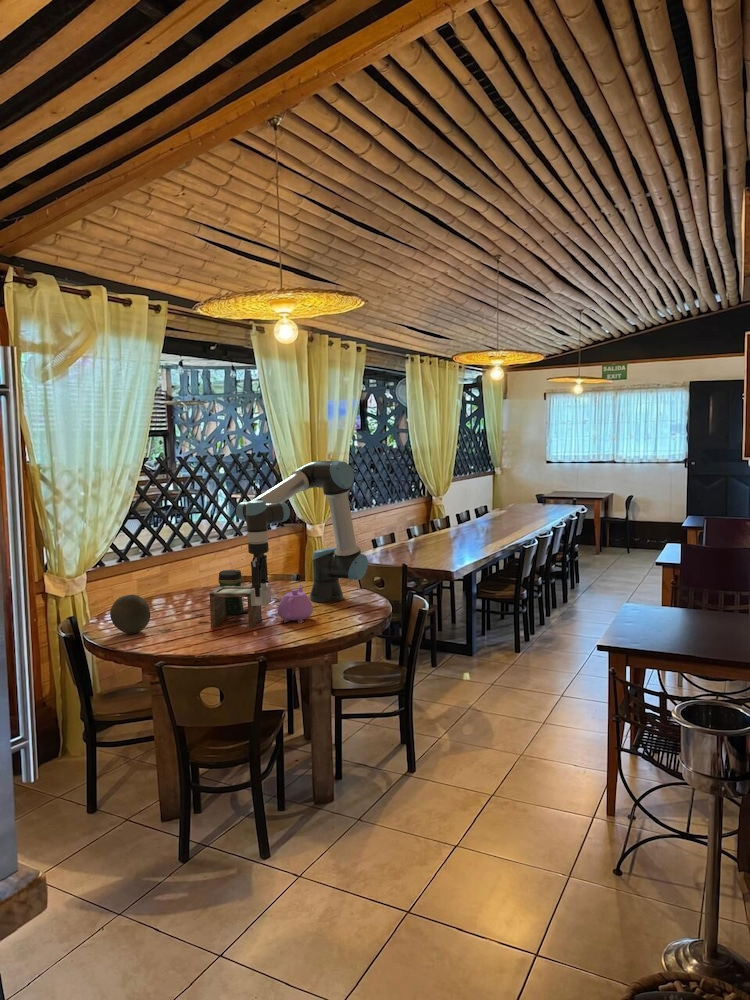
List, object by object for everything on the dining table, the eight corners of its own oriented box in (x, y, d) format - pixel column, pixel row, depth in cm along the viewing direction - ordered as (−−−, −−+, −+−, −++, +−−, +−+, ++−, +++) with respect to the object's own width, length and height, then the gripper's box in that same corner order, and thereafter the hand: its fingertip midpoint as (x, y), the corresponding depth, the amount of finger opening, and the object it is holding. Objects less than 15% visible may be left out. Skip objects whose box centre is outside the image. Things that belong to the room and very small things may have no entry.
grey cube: (271, 601, 258) (270, 586, 257) (266, 605, 252) (266, 589, 251) (255, 601, 259) (254, 586, 258) (251, 605, 253) (250, 590, 252)
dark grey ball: (120, 629, 265) (118, 591, 264) (156, 628, 265) (154, 591, 264) (105, 639, 251) (103, 599, 250) (143, 639, 251) (141, 599, 250)
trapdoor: (269, 597, 273) (269, 587, 273) (264, 602, 265) (263, 592, 264) (224, 597, 275) (223, 587, 275) (217, 602, 267) (216, 592, 266)
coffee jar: (245, 610, 290) (243, 568, 289) (240, 615, 282) (238, 571, 281) (223, 610, 291) (221, 568, 289) (217, 615, 283) (216, 572, 282)
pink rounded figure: (286, 612, 286) (285, 583, 285) (319, 613, 283) (318, 584, 282) (271, 625, 266) (270, 594, 265) (306, 626, 264) (305, 595, 262)
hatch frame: (261, 618, 276) (260, 586, 275) (252, 627, 264) (251, 593, 263) (221, 618, 278) (220, 586, 277) (210, 626, 266) (209, 593, 265)
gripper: (255, 538, 263) (258, 596, 265) (240, 546, 244) (244, 609, 246) (274, 537, 262) (277, 596, 264) (260, 546, 243) (264, 609, 245)
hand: (261, 602), depth 255 cm, fingers closed on grey cube, 6 cm apart
